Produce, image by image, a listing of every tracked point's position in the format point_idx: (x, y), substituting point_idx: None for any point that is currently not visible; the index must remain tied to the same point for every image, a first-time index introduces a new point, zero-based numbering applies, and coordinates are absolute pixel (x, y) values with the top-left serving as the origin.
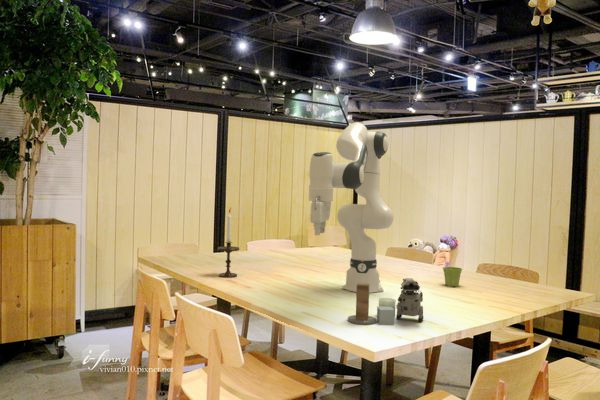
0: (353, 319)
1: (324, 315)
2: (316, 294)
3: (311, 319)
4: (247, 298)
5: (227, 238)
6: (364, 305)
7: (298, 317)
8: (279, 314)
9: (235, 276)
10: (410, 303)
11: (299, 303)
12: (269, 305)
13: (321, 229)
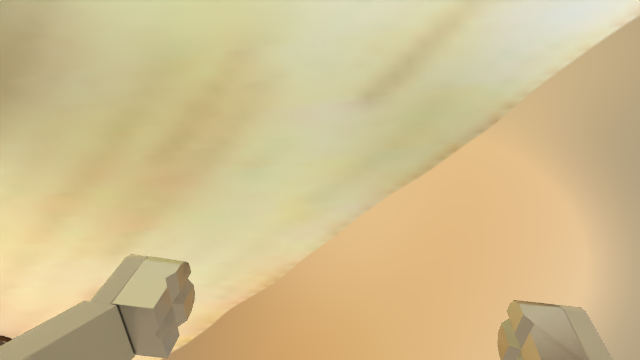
0: None
1: (404, 8)
2: (62, 87)
3: (479, 54)
4: (241, 280)
5: None
6: None
7: (453, 107)
8: (420, 173)
9: (3, 338)
10: None
11: (239, 131)
12: (305, 216)
13: (165, 322)
